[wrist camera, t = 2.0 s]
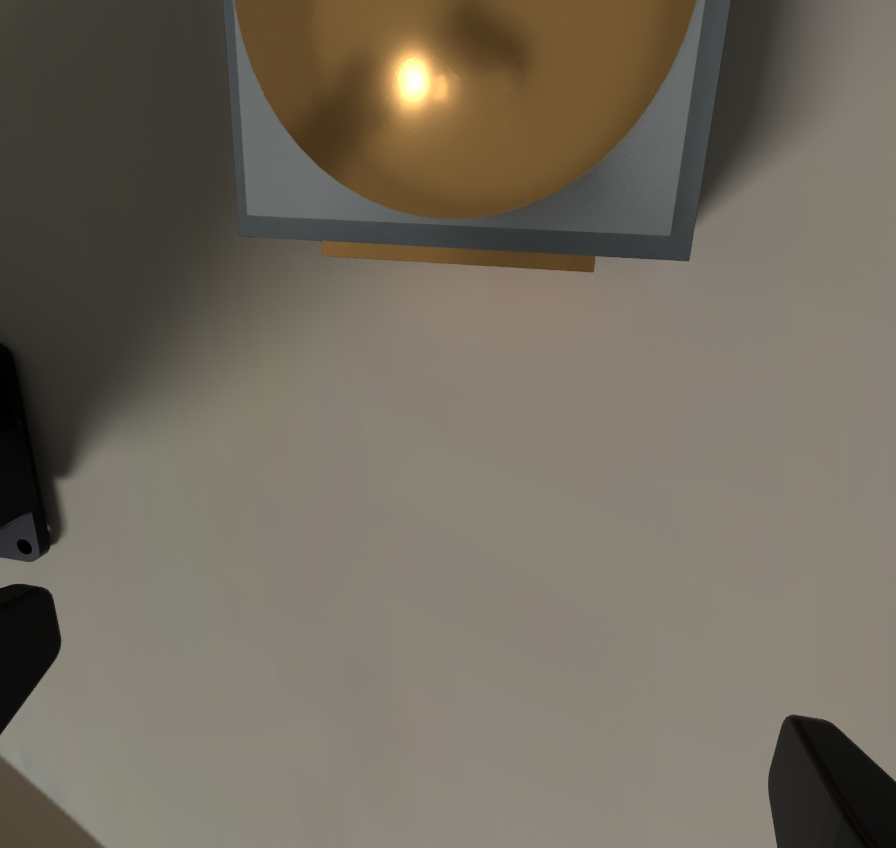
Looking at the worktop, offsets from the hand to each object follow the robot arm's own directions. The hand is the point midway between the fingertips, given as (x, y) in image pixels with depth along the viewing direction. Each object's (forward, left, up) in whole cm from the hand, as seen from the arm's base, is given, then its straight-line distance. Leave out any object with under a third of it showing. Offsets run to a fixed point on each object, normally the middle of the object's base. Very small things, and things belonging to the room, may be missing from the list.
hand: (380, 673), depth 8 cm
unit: (0, +9, -8) cm, 12 cm away
